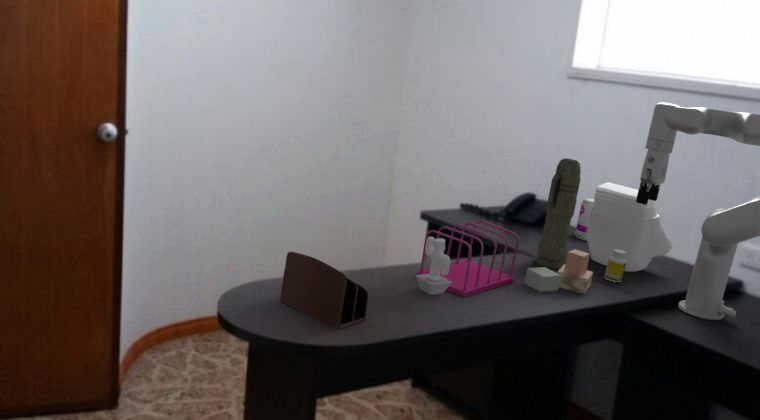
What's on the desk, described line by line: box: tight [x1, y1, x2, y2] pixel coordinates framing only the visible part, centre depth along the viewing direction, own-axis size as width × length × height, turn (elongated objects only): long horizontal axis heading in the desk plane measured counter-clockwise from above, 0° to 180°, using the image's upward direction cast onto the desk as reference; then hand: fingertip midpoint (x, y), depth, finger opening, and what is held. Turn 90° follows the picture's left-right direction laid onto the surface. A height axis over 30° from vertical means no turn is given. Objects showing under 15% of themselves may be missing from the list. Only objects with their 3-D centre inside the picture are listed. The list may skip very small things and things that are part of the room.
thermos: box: [535, 158, 582, 270], centre depth 243 cm, size 9×12×35 cm
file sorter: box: [415, 220, 519, 298], centre depth 218 cm, size 17×25×16 cm
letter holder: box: [279, 251, 369, 330], centre depth 181 cm, size 10×20×14 cm, turn 50°
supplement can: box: [574, 197, 594, 242], centre depth 285 cm, size 8×8×15 cm
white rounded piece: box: [586, 181, 673, 273], centre depth 254 cm, size 21×27×26 cm
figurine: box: [415, 236, 452, 296], centre depth 205 cm, size 7×9×15 cm
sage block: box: [524, 266, 561, 293], centre depth 223 cm, size 7×7×5 cm
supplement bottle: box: [604, 249, 626, 283], centre depth 239 cm, size 5×5×10 cm
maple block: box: [556, 263, 594, 294], centre depth 228 cm, size 9×9×5 cm
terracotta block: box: [564, 248, 591, 276], centre depth 226 cm, size 5×5×6 cm
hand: (646, 201), depth 225 cm, fingers open, 9 cm apart
